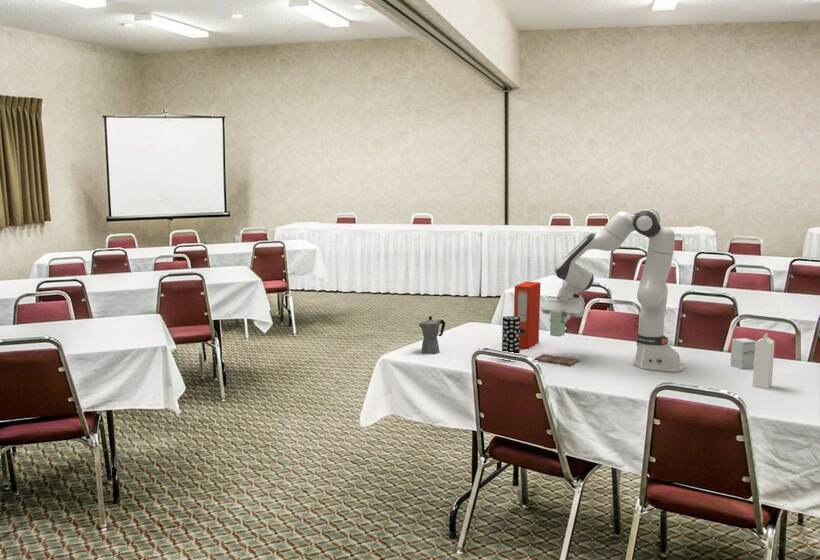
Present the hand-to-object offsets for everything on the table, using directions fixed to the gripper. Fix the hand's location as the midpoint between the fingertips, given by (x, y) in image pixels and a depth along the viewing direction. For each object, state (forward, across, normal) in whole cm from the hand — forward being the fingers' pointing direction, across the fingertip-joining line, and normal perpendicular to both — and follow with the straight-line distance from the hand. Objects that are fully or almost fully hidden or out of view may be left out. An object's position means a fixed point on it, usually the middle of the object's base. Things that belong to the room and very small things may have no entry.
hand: (557, 321), depth 343 cm
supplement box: (-13, +74, +40) cm, 85 cm away
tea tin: (+4, 0, +5) cm, 6 cm away
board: (+13, 0, +14) cm, 19 cm away
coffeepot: (+26, -59, +2) cm, 64 cm away
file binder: (-1, -26, +29) cm, 39 cm away
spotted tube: (+19, -20, +8) cm, 29 cm away
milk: (+6, +87, +21) cm, 90 cm away
